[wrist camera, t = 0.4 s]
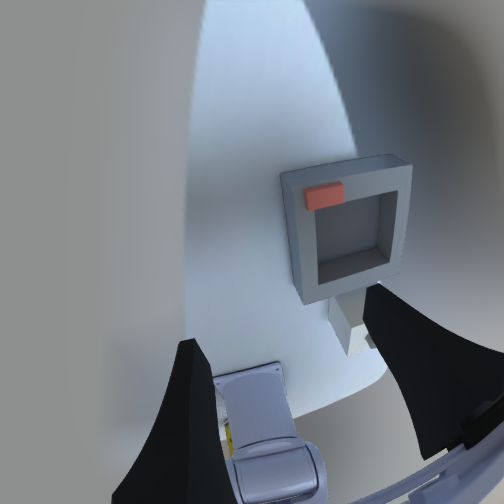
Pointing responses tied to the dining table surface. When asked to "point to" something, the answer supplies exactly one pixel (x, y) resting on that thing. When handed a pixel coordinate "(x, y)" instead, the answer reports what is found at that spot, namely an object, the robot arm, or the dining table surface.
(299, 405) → the dining table surface
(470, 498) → the robot arm
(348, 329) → the plug
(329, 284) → the socket plate
